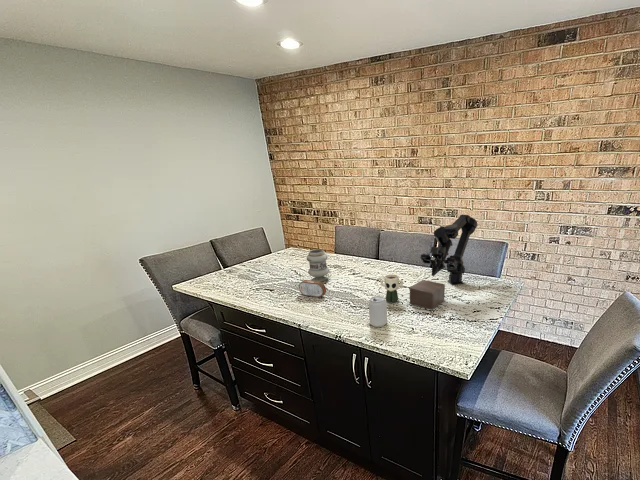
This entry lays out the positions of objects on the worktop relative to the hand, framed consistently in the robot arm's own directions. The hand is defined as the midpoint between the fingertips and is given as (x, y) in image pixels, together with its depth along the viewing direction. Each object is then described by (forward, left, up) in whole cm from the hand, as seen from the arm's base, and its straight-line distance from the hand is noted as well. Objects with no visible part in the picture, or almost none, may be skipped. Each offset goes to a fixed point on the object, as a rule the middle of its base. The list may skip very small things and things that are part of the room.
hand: (432, 275), depth 166 cm
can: (+33, +18, -13) cm, 40 cm away
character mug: (+20, -4, -13) cm, 24 cm away
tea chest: (+4, +3, -12) cm, 13 cm away
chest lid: (+4, +3, -5) cm, 7 cm away
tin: (+57, -25, -13) cm, 64 cm away
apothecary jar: (+51, -49, -13) cm, 72 cm away
